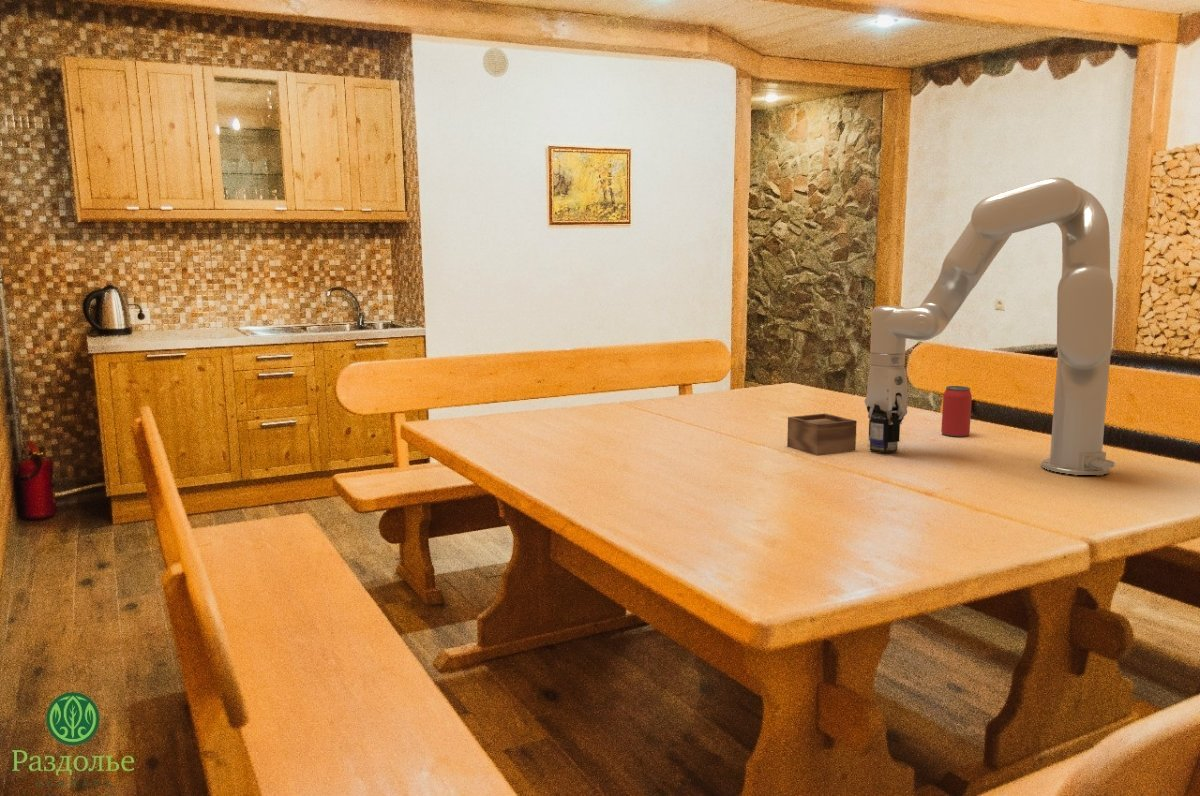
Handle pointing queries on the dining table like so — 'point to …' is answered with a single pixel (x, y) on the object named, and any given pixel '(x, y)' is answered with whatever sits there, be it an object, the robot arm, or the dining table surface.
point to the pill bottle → (880, 433)
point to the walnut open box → (821, 434)
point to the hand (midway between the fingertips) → (883, 438)
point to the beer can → (956, 411)
